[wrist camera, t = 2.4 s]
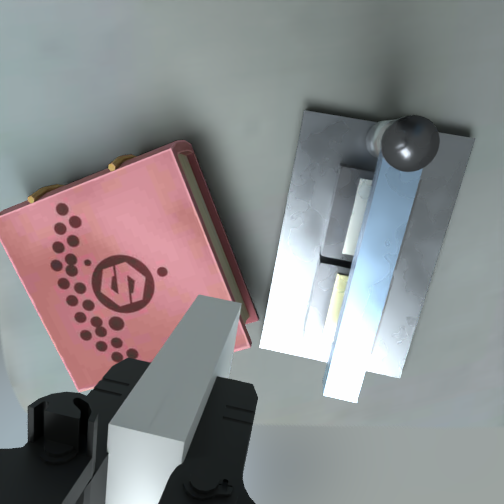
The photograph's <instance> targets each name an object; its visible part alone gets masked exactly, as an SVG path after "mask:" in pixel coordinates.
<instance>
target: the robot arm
mask: <svg viewBox="0 0 504 504" xmlns="http://www.w3.org/2000/svg"><path fill="white" fill-rule="evenodd" d="M241 304H242V303H238V302H233V301H228V300H224V299H219V298H214V297H209V296H204V295H200V294H199V295H198V296H197V298H196V299H195V301H194V302H193V303H192V305H191V306H190V308H189V309H188V311H187V312H186V313H185V315H184V316H183V318H182V319H181V321H180V322H179V324H178V325H177V326H176V328H175V329H174V331H173V332H172V334H171V335H170V336H169V338H168V339H167V341H166V342H165V344H164V345H163V346H162V348H161V349H160V351H159V352H158V354H157V355H156V357H155V358H154V359H153V361H152V362H146V361H142V360H137V359H133V358H126V359H124V360H122V361H121V362H119V363H117V364H115V365H113V366H112V367H111V368H110V369H109V370H108V372H107V373H106V374H105V375H104V376H103V377H102V380H100V381H99V382H98V383H97V385H96V386H95V387H94V389H93V390H91V392H90V393H89V394H88V395H87V396H86V395H83V394H81V393H73V392H61V393H54V394H50V395H48V396H45V397H42V398H40V399H38V400H36V401H35V402H33V403H32V404H31V405H29V406H28V442H27V443H26V444H25V446H24V447H21V448H12V449H0V504H255V503H254V501H253V500H252V499H251V498H250V497H249V495H248V493H247V491H246V489H245V487H244V484H243V470H244V466H245V461H246V456H247V451H248V446H249V441H250V436H251V431H252V426H253V420H254V415H255V410H256V405H257V400H258V397H257V394H256V391H255V389H254V386H253V384H250V383H245V382H241V381H237V380H232V379H228V377H229V374H230V370H231V364H232V358H233V352H234V346H235V340H236V334H237V328H238V322H239V316H240V310H241Z"/></svg>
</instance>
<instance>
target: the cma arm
mask: <svg viewBox="0 0 504 504" xmlns="http://www.w3.org/2000/svg"><path fill="white" fill-rule="evenodd" d="M439 144H440V137H439V133H438V130H437V128H436V127H435V125H434V124H433V123H432V122H431V121H430V120H428V119H426V118H424V117H421V116H415V115H413V116H405V117H401V118H399V119H397V120H395V121H394V122H392V123H391V124H390V125H389V126H388V127H387V128H386V130H385V132H384V133H383V136H382V139H381V146H380V147H381V148H380V152H379V156H378V160H377V164H376V168H375V172H374V176H373V180H372V184H371V188H370V192H369V196H368V201H367V205H366V209H365V213H364V217H363V221H362V225H361V229H360V233H359V237H358V241H357V245H356V249H355V253H354V257H353V261H352V265H351V269H350V273H349V277H348V281H347V285H346V289H345V293H344V297H343V301H342V305H341V309H340V313H339V317H338V321H337V325H336V329H335V333H334V337H333V341H332V345H331V349H330V353H329V358H328V362H327V366H326V370H325V374H324V378H323V395H324V396H329V397H333V398H338V399H342V400H346V401H351V402H355V403H357V399H358V396H359V392H360V388H361V385H362V381H363V378H364V374H365V371H366V367H367V364H368V360H369V357H370V353H371V350H372V346H373V343H374V339H375V335H376V332H377V328H378V325H379V321H380V318H381V314H382V311H383V307H384V304H385V300H386V297H387V293H388V290H389V286H390V283H391V279H392V275H393V272H394V268H395V265H396V261H397V258H398V254H399V251H400V247H401V244H402V240H403V237H404V233H405V230H406V226H407V223H408V219H409V215H410V212H411V208H412V205H413V201H414V198H415V194H416V191H417V187H418V184H419V180H420V177H421V173H422V170H423V168H424V167H426V166H427V165H428V164H429V163H430V162H431V161H432V160H433V159H434V158H435V156H436V154H437V152H438V149H439Z"/></svg>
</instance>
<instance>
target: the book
mask: <svg viewBox="0 0 504 504" xmlns="http://www.w3.org/2000/svg"><path fill="white" fill-rule="evenodd" d="M0 241H1V243H2V245H3V247H4V249H5V251H6V253H7V255H8V257H9V259H10V261H11V263H12V265H13V267H14V268H15V270H16V272H17V274H18V276H19V278H20V280H21V282H22V284H23V286H24V288H25V290H26V292H27V294H28V295H29V297H30V299H31V301H32V303H33V305H34V307H35V309H36V311H37V313H38V315H39V317H40V319H41V321H42V322H43V324H44V326H45V328H46V330H47V332H48V334H49V336H50V338H51V340H52V342H53V344H54V346H55V348H56V349H57V351H58V353H59V355H60V357H61V359H62V361H63V363H64V365H65V367H66V369H67V371H68V373H69V375H70V376H71V378H72V380H73V382H74V384H75V386H76V388H77V390H78V392H82V391H86V390H90V389H94V387H95V386H96V385H97V383H98V382H99V381H100V380H102V377H103V376H104V375H105V374H106V373H107V372H108V370H109V369H110V368H111V367H112V366H113V365H115V364H117V363H119V362H121V361H122V360H124V359H126V358H133V359H137V360H142V361H146V362H152V361H153V359H154V358H155V357H156V355H157V354H158V352H159V351H160V349H161V348H162V346H163V345H164V344H165V342H166V341H167V339H168V338H169V336H170V335H171V334H172V332H173V331H174V329H175V328H176V326H177V325H178V324H179V322H180V321H181V319H182V318H183V316H184V315H185V313H186V312H187V311H188V309H189V308H190V306H191V305H192V303H193V302H194V301H195V299H196V298H197V296H198V295H199V294H200V295H204V296H209V297H214V298H219V299H224V300H228V301H233V302H238V303H242V304H241V310H240V316H239V322H238V328H237V334H236V340H235V346H234V352H236V351H240V350H243V349H247V348H251V344H252V342H251V339H250V336H249V334H248V331H247V329H246V326H245V324H248V323H252V322H255V321H258V320H259V318H258V315H257V313H256V310H255V308H254V305H253V302H252V300H251V297H250V295H249V292H248V289H247V287H246V284H245V282H244V279H243V277H242V274H241V271H240V269H239V266H238V264H237V261H236V258H235V256H234V253H233V251H232V248H231V246H230V243H229V240H228V238H227V235H226V233H225V230H224V227H223V225H222V222H221V220H220V217H219V215H218V212H217V209H216V207H215V204H214V202H213V199H212V197H211V194H210V191H209V189H208V186H207V184H206V181H205V178H204V176H203V173H202V171H201V168H200V166H199V163H198V160H197V158H196V155H195V153H194V150H193V147H192V145H191V144H190V143H189V142H187V141H185V140H178V141H174V142H172V143H169V144H167V145H165V146H162V147H160V148H157V149H155V150H152V151H150V152H147V153H145V154H142V155H140V156H134V155H132V154H130V155H122V156H119V157H117V158H116V159H115V160H114V161H112V162H111V163H110V164H109V165H108V168H107V169H105V170H102V171H100V172H97V173H95V174H92V175H90V176H87V177H85V178H82V179H80V180H77V181H75V182H72V183H70V184H67V185H59V184H56V185H51V186H46V187H43V188H40V189H39V190H38V191H36V192H35V193H33V194H32V195H30V196H29V197H28V200H27V201H25V202H22V203H20V204H17V205H15V206H12V207H10V208H7V209H5V210H3V211H1V212H0Z"/></svg>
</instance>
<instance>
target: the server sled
mask: <svg viewBox="0 0 504 504" xmlns="http://www.w3.org/2000/svg"><path fill="white" fill-rule="evenodd" d="M395 120H397V119H395ZM395 120H386V121H380V122H373V121H366V120H360V119H354V118H348V117H342V116H336V115H330V114H324V113H318V112H312V111H306V110H304V114H303V119H302V125H301V130H300V135H299V141H298V146H297V151H296V157H295V162H294V167H293V173H292V178H291V183H290V189H289V194H288V199H287V205H286V210H285V215H284V221H283V226H282V231H281V237H280V242H279V247H278V252H277V258H276V263H275V268H274V274H273V279H272V284H271V290H270V295H269V300H268V306H267V311H266V316H265V322H264V327H263V332H262V338H261V343H260V348H264V349H269V350H273V351H278V352H282V353H287V354H291V355H296V356H301V357H305V358H310V359H314V360H319V361H324V362H328V358H329V353H330V349H331V345H332V341H333V337H334V333H335V329H336V325H337V321H338V317H339V313H340V309H341V305H342V301H343V297H344V293H345V289H346V285H347V281H348V277H349V273H350V269H351V265H352V261H353V257H354V253H355V249H356V245H357V241H358V237H359V233H360V229H361V225H362V221H363V217H364V213H365V209H366V205H367V201H368V196H369V192H370V188H371V184H372V180H373V176H374V172H375V168H376V164H377V160H378V156H379V152H380V148H381V147H380V146H381V139H382V136H383V133H384V132H385V130H386V128H387V127H388V126H389V125H390V124H391V123H392V122H394V121H395ZM438 133H439V132H438ZM439 137H440V144H439V149H438V152H437V154H436V156H435V158H434V159H433V160H432V161H431V162H430V163H429V164H428V165H427V166H426V167H424V168H423V170H422V173H421V177H420V180H419V184H418V187H417V191H416V194H415V198H414V201H413V205H412V208H411V212H410V215H409V219H408V223H407V226H406V230H405V233H404V237H403V240H402V244H401V247H400V251H399V254H398V258H397V261H396V265H395V268H394V272H393V275H392V279H391V283H390V286H389V290H388V293H387V297H386V300H385V304H384V307H383V311H382V314H381V318H380V321H379V325H378V328H377V332H376V335H375V339H374V343H373V346H372V350H371V353H370V357H369V360H368V364H367V367H366V371H369V372H374V373H378V374H383V375H388V376H392V377H397V378H400V376H401V373H402V370H403V366H404V363H405V360H406V357H407V354H408V351H409V347H410V344H411V341H412V338H413V335H414V332H415V328H416V325H417V322H418V319H419V316H420V313H421V309H422V306H423V303H424V300H425V297H426V293H427V290H428V287H429V284H430V281H431V278H432V274H433V271H434V268H435V265H436V262H437V259H438V255H439V252H440V249H441V246H442V243H443V239H444V236H445V233H446V230H447V227H448V224H449V220H450V217H451V214H452V211H453V208H454V205H455V201H456V198H457V195H458V192H459V189H460V186H461V182H462V179H463V176H464V173H465V170H466V166H467V163H468V160H469V157H470V154H471V151H472V147H473V144H474V141H475V138H470V137H464V136H458V135H452V134H446V133H439Z"/></svg>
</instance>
